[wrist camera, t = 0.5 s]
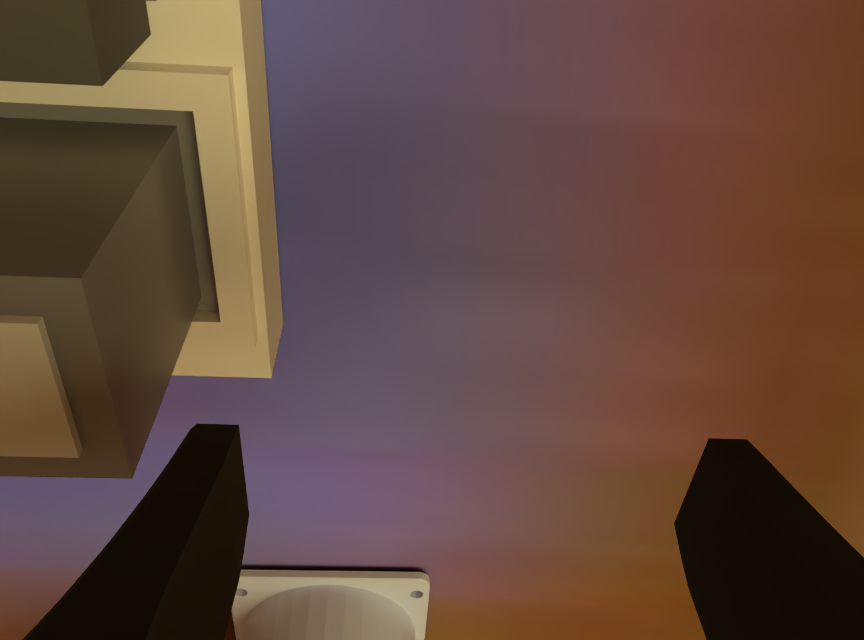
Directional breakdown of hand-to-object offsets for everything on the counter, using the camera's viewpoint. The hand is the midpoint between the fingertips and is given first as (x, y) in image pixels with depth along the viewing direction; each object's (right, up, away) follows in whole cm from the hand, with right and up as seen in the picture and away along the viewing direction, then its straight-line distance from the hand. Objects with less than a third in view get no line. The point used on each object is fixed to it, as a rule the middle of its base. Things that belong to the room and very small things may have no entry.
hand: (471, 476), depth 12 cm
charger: (-9, +5, +6) cm, 11 cm away
